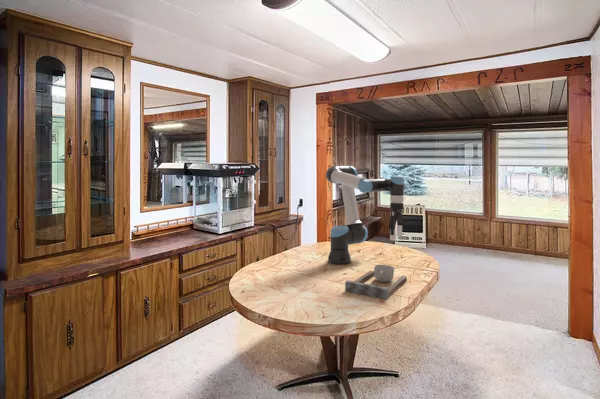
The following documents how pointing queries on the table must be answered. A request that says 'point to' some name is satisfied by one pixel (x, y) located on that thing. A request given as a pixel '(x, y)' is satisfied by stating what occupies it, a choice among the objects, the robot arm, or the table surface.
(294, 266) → the table surface
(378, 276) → the teacup
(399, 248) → the table surface
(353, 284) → the guide track
